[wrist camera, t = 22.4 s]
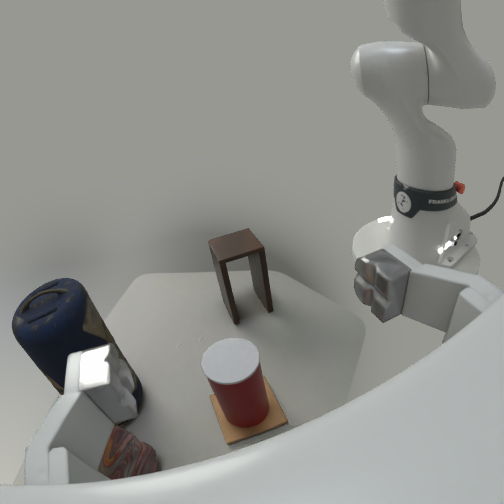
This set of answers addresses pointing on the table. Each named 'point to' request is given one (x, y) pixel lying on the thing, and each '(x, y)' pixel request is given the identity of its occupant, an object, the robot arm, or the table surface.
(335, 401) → the table surface
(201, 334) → the table surface
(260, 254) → the brown wooden stand
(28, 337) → the canister
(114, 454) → the stone
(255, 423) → the tube
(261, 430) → the coaster
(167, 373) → the table surface
